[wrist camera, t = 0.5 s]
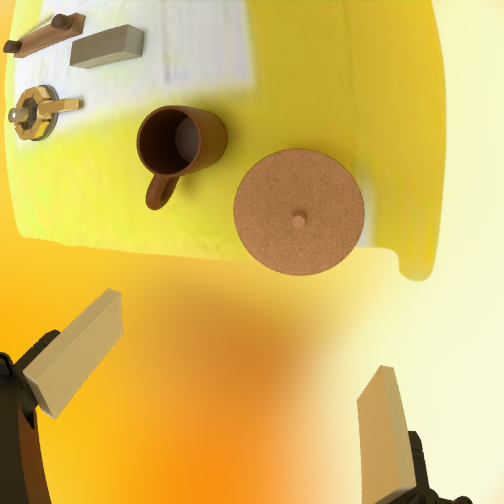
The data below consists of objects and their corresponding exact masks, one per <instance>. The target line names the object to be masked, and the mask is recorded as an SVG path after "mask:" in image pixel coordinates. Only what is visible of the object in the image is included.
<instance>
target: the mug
mask: <svg viewBox="0 0 504 504" xmlns="http://www.w3.org/2000/svg"><path fill="white" fill-rule="evenodd" d="M226 142H227V135H226V130H225V127H224V125H223V123H222V122H221V121H220V119H219V118H218V117H217V116H215V115H214V114H212V113H210V112H208V111H205V110H200V109H196V108H192V107H186V106H164V107H161V108H158V109H156V110H154V111H153V112H151V113H150V114H149V115H148V116H147V117H146V118H145V120H144V121H143V122H142V124H141V126H140V128H139V131H138V134H137V151H138V155H139V158H140V160H141V162H142V163H143V165H144V166H145V167H146V168H147V169H148V170H149V171H150V172H152V173H153V174H154V177H153V179H152V181H151V183H150V185H149V187H148V189H147V193H146V204H147V206H148V208H150V209H152V210H158V209H160V208H162V207H163V206H164V205H165V204H166V203H167V202H168V200H169V199H170V197H171V195H172V193H173V191H174V189H175V187H176V184H177V182H178V180H179V178H180V176H184V175H187V174H190V173H192V172H195V171H198V170H200V169H203V168H206V167H208V166H210V165H212V164H213V163H215V162H216V161H217V160H218V159H219V158H220V157H221V155H222V154H223V152H224V150H225V147H226Z"/></svg>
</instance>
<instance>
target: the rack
mask: <svg viewBox="0 0 504 504" xmlns="http://www.w3.org/2000/svg"><path fill="white" fill-rule="evenodd" d="M84 20H85V16H84V15H81V14H78V13H74V14H72V15H69V16H66V15H63V14H57V15H56V16H55V17H54V18H53V20H52V22H51V24H49V25H47V26H45V27H42V28H40V29H38V30H36V31H34V32H33V33H31V34H29V35H27V36H25V37H23V38H21V39H19V40H18V41H10V40H8V41H7V42H6V44H5V46H4V50H3V51H4V52H5V53H14V57H16V58H24V57H26V56H28V55H30V54H32V53H34V52H36V51H39V50H41V49H43V48H46V47H48V46H50V45H53V44H55V43H58V42H60V41H63V40H66V39H68V38H71V37H74V36H77V35H80V34H82V30H83V24H84Z"/></svg>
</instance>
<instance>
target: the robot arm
mask: <svg viewBox="0 0 504 504" xmlns="http://www.w3.org/2000/svg"><path fill="white" fill-rule="evenodd" d="M121 312H122V311H121V293H119V292H116V291H114V290H111V289H109V288H108V289H107V290H106V291H105V292H104V293H103V294H102V295H101V296H99V298H97V299H96V300H95V301H94V302H93V303H92V304H91V305H90V306H88V307H87V308H86V309H85V310H84V311H83V312H82V313H81V314H80V315H79V316H78V317H77V318H76V319H75V320H74V321H72V323H70V325H68V326H67V327H66V328H65V329H64V330H63V331H62V332H59V331H57V330H52V331H50V332H48V333H46V334H45V335H44V336H43V337H42V338H40V339H39V341H38V342H36V343H35V344H34V345H33V347H31V348H30V349H29V350H28V351H27V352H26V353H25V354H24V355H23V356H22V357H21V358H20V359H19V360H18V361H17V362H16V363H15V364H14V365H13V362H12V360H11V358H10V357H9V355H7V354H6V353H3V352H0V504H52V503H51V500H50V496H49V492H48V487H47V483H46V478H45V473H44V468H43V462H42V456H41V450H40V443H39V435H38V425H37V414H36V410H35V408H36V407H37V405H38V404H39V406H40V408H41V410H42V411H43V412H44V413H45V414H47V415H48V416H50V417H52V418H53V419H56V418H57V417H58V415H59V414H60V413H61V411H62V410H63V409H64V407H65V406H66V405H67V403H68V402H69V401H70V399H71V398H72V397H73V396H74V394H75V393H76V392H77V390H78V389H79V388H80V387H81V385H82V384H83V383H84V381H85V380H86V379H87V378H88V376H89V375H90V374H91V373H92V371H93V370H94V369H95V368H96V366H97V365H98V364H99V363H100V361H101V360H102V359H103V358H104V356H105V355H106V354H107V353H108V352H109V350H110V349H111V348H112V347H113V345H114V344H115V343H116V342H117V340H118V339H119V338H120V337H121V336H122V334H123V328H122V313H121ZM357 406H358V419H359V432H360V448H361V474H362V504H473V503H472V501H471V500H470V499H469V498H468V497H466V496H461V497H458V498H457V499H455V500H454V501H452V500H447V499H443V498H439V497H438V494H437V493H436V492H435V491H434V490H432V489H430V487H429V483H428V476H427V471H426V464H425V459H424V453H423V452H422V450H423V448H422V443H421V440H420V438H419V436H418V434H417V433H416V431H408V430H407V425H406V420H405V415H404V410H403V406H402V401H401V397H400V393H399V388H398V384H397V380H396V376H395V372H394V368H392V367H386V366H380V367H379V368H378V370H377V371H376V373H375V375H374V376H373V377H372V379H371V380H370V382H369V384H368V385H367V386H366V388H365V389H364V391H363V392H362V394H361V395H360V396H359V398H358V399H357Z"/></svg>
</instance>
